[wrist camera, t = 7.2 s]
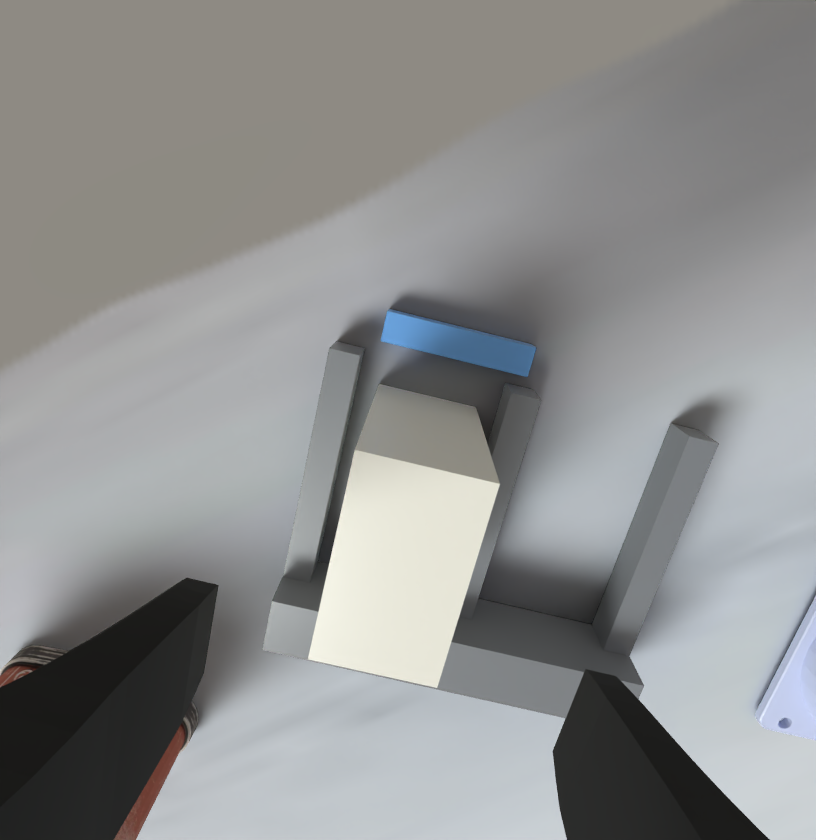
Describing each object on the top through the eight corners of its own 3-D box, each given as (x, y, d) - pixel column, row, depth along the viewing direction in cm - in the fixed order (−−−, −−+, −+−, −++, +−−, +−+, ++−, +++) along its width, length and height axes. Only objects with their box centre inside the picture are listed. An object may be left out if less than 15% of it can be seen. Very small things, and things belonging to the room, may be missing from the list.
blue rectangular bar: (531, 344, 19) (536, 347, 19) (523, 372, 20) (527, 377, 19) (388, 308, 19) (387, 311, 18) (382, 337, 20) (380, 341, 19)
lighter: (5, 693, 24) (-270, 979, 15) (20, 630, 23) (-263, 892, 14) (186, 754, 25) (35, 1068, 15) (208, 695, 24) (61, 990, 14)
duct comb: (697, 429, 20) (743, 459, 17) (599, 671, 23) (624, 731, 20) (336, 341, 20) (321, 356, 17) (283, 599, 23) (262, 650, 20)
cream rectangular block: (475, 406, 20) (499, 484, 13) (434, 554, 22) (437, 688, 15) (378, 383, 20) (354, 449, 13) (344, 533, 22) (307, 659, 15)
